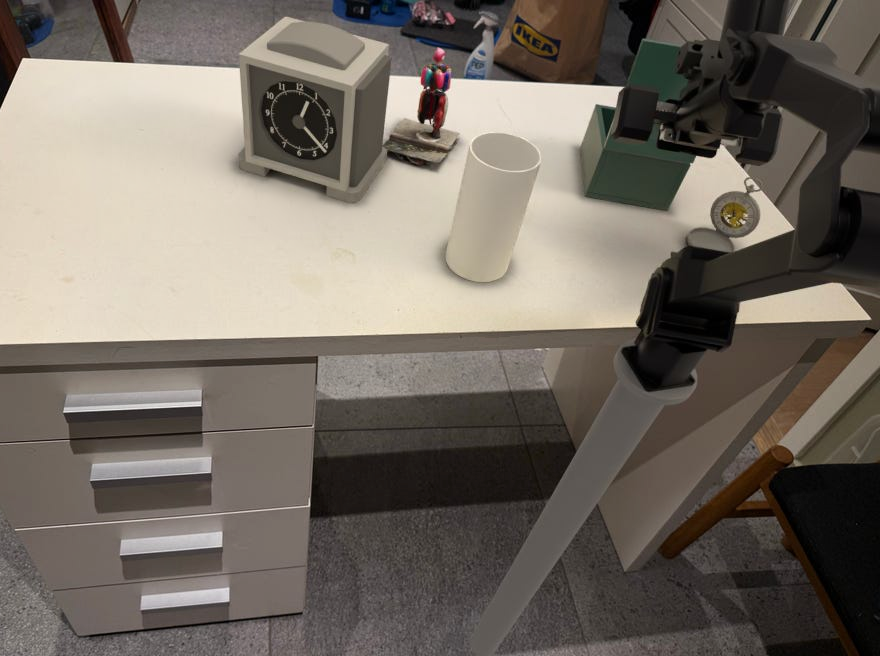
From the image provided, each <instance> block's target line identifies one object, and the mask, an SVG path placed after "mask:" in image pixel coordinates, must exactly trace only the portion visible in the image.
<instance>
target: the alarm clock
mask: <svg viewBox="0 0 880 656" xmlns="http://www.w3.org/2000/svg"><path fill="white" fill-rule="evenodd" d="M389 47H390V43H386V42H382V41H378V40H375V39H371V38H367V37H363V36H359V35H356V34H353V33H350V32H348V31H345V30H343V29H342V28H339V27H336V26H334V25H331V24H328V23H322V22H316V21H304V20H301V19H297V18H293V17H290V16H284V17H283V18H281V19H280V20H279V21H278V22H276V23H275V24H274V25H273V26H271V27H270V28H269V29H268V30H267V31H265V32H264V33H263V34H261V35H260V36H259V37H258V38H257V39H255V40H254V41H253V42H251V43H250V44H249V45H248V46H247V47H245V49H243V50H242V51H240V52H239V53H238V63H239V64H238V65H239V80H240V81H239V82H240V93H241V109H242V111H241V112H242V123H243V124H242V126H243V140H244V147H243V149H241V150H240V152H238V154H237V159H238V168H239V169H240V170H241V171H245V172H247V173H251V174H254V175H258V176H260V177H266V175H267V174H268V173H269V172H270V171H271V170H273V171H277V172H279V173H282V174H286V175H289V176H293V177H297V178H300V179H303V180H306V181H309V182H313V183H316V184H319V185H322V186H326V192H325V196H326V197H329V198H332V199H335V200H339V201H343V202H346V203H348V204H349V203H350V204H352V203H353V204H355V203H357V202H360V201H361V199H362V198H363V196H364V195H365V194H366V192H367V190H368V189H369V187H370V186H371V185H372V184H373V182H374V180H375V178H376V177H377V176H378V174H379V173H380V171H381V170H382V168H383V167H384V166H385V164H386V162H387V158H388V151H387V150H386V149H385V148H384V147H382V145H383V144H384V143H383V142H384V133H385V124H386V115H387V107H388V95H389V89H390V88H389V86H390V79H391V78H390V77H391V68H392V59H393V56H390V55H389Z"/></svg>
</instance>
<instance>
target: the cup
mask: <svg viewBox="0 0 880 656" xmlns="http://www.w3.org/2000/svg"><path fill="white" fill-rule="evenodd" d="M541 162H542V154H541V152H540V150H539V148H538V147H537V146H536V145H535V144H533V143H532V142H531V141H529V140H528V139H526V138H525V137H521V136H520V135H517V134H513V133H508V132H501V131H488V132H483V133H480V134H478V135H476V136H474V137H473V138H472V139H471V141H470V144H469V145H468V150H467V155H466V159H465V164H464V168H463V172H462V177H461V181H460V186H459V191H458V196H457V201H456V205H455V209H454V215H453V218H452V224H451V229H450V233H449V238H448V242H447V248H446V250H445V251H446V252H445V262H446V264H447V267H449V269H450V270H451V271H452V272H453V273H455V274H456V275H457V276H459V277H461V278H463V279H465V280H468V281H471V282H476V283H490V282H495V281H498V280H499V279H501V278H502V277H504V276H505V275H506V273H507V271H508V269H509V265H510V262H511V260H512V256H513V253H514V250H515V247H516V243H517V240H518V238H519V234H520V231H521V227H522V224H523V222H524V218H525V215H526V211H527V208H528V205H529V202H530V199H531V195H532V192H533V189H534V186H535V183H536V178H537V176H538V172H539V171H540V166H541Z"/></svg>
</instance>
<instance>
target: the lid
mask: <svg viewBox="0 0 880 656" xmlns="http://www.w3.org/2000/svg"><path fill="white" fill-rule="evenodd" d="M683 45H684V44H676V43H670V42H665V41H659V40H654V39H648V38H641V42H640V44H639V47H638V50H637V53H636V56H635V58H634V60H633V63H632V66H631V69H630V72H629V75H628V76H627V77H628V78H627V80H626V83H625V86H626V85H628V84H629V83H631V84H637V85H643V86H649V87H654V88H658V91H659V97H658V102H664V103H665V101H666V100H668V99H674V100H679V98H680V92H681V90H682V89H683V88H684V87H686V86H687V83H688V79H684V76H683V75H681V74H676V73H675V62H676V56H677V53H678V51H679V50H680V48H681V47H682V46H683ZM658 110H659V109H658ZM613 120H614V119H613ZM612 126H613V122H612V124H611V127H610V130H609V133H608V136H607V138H606V141H605V144H604V148H606V149H612V150H618V151H623V152H629V153H635V154H641V155H646V156H652V157H658V158H664V159H669V160H675V161H681V162H686V163H690V164H694V162H695V160H696V158H697V156H694V155H689V154H686V153H682V152H679V153H676V152H671V151H665V150H660V149H657V148H656V146H655V143H656V138H657V133H658V128H659V124H654V123H653V128H652V132H651V135H650V137H649V139H648V141H647V142H646V143H645V144H636V145H635V144H629V143H624V142H618V141H614V140H613V138H612V137H611V131H612Z"/></svg>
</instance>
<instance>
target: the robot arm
mask: <svg viewBox="0 0 880 656" xmlns="http://www.w3.org/2000/svg"><path fill="white" fill-rule="evenodd" d="M790 5H791V0H727V3H726V10H725V13H724V19H723V23H722V28H721V34H720V39H719V40H716V39H711V38H705V39H703V40H699V39H694V40H693V41H692V40H687V41H686V42H685V43H684V44H682V45H683V46H682V47H681V48H680V50H679V51H678V53H677V56H676V62H675V73H676V74H681V75H683V76H684V79H688V83H687V86H686V87H684V88H683V89H682V90H681V92H680V98H679V100H674V99H668V100H666V101H665V103H664V102H658V97H659V91H658V88H654V87H649V86H643V85H637V84H631V83H629V84H628V85H626V84H625V86H624V87H622V89H621V90H619V92H618V95H617V99H616V105H615V107H616V110H615V115H614V120H613V126H612V131H611V137H612V138H613V140H614V141H618V142H624V143H629V144H635V145H636V144H645V143H646V142H647V141H648V139H649V137H650V135H651V132H652V128H653V123H654V124H659V128H658V133H657V138H656V143H655V146H656V148H657V149H660V150H665V151H671V152H676V153H679V152H682V153H686V154H689V155H694V156H696V157H699V158H705V159H713V158H715V157H716V156H717V153H718V150H719V149H721V146H727V147H733V148H739V147H740V152H739V153H737V154H736V155H735V161H736V162H737V163H739V164H744V165H750V166H756V167H762V166H763V165H765V164H768V163H769V162H770V161H772V160H773V159H774V157H775V156H776V154H777V151H778V145H779V141H780V137H781V131H782V127H783V121H784V118H783V115H782V113H781V111H780V109H778V108H775V107H780V108H782V109H783V110H785V111H787V112H788V113H790V114H792V115H793V116H794V117H796V118H798V119H800V120H801V121H803V122H804V123H806V124H808V125H810V126H811V127H812V128H814V129H816V130H817V131H819V132H820V133H822V134H824V135H825V136H826V140H825V141H826V142H825V144H826V145H825V152H824V154H823V155H822V157H821V158H820V159H819V161H818V162H817V163H816V164H815V166H814V167H813V169H812V170H811V171H810V172H809V173H808V175H807V176H806V178H805V179H804V180H803V182H802V183H801V185H800V187H799V193H798V194H799V197H798V210H797V217H796V223H795V228H794V229H792V230H789V231H786V232H784V233H781V234H778V235H776V236H773V237H770V238H767V239H765V240H762V241H759V242H757V243H753V244H750V245H748V246H745V247H742V248H739V249H737V250H735V251H734V252H725V251H719V250H714V249H708V248H702V247H697V246H690V245H687V246H683V247H682V248H681V249H680V250H679V251H673V250H672V251H670V257H669V258H667V259H665V260H664V261H663V262H662V263H661V264H660V266H657V268H655V270H654V271H653V272H652V273H651V276H650V278H649V279H648V282H647V286H646V289H645V293H644V295H643V297H642V300H641V303H640V308H639V315H638V316H637V318H636V320H635V326H636V327H637V328H638V329H639V330H640V331H639V333H638V334H637V337H635V338H636V340H635V342H634V344H635V346H627V347H623V348H622V350H621V353H622V354H623V356H624V358H625V359H626V361H627V363H628V364H629V366H630V367H631V369H632V371H633V372H634V374H635V375H636V377H637V379H638V380H639V382H640V383H641V385H642V387H643V388H644V390H645V391H647V392H653V391H660V390H667V389H673V388H680V387H686V386H692V385H694V383H695V379H694V378H693V376H692V375H691V372H692V371H693V370H694V368H695V369H696V367H697V365H698V364H699V363H700V361H701V359H702V358H703V357H704V355H705V354H706V352H707V351H708V350H710V351H715V352H716V353H723V352H724V351H726V350H728V349H729V348H730V347H731V346H732V342H733V337H734V333H735V328H736V323H737V319H738V314H739V312H740V307H741V303H743V302H747V301H752V300H756V299H757V300H758V299H761V298H767V297H770V296H771V297H772V296H776V295H781V294H785V293H789V292H795V291H799V290H804V289H808V288H814V287H818V286H823V285H827V284H828V285H829V284H840V285H841V284H842V285H851V286H861V287H869V288H879V289H880V192H878V191H871V190H866V189H861V188H856V187H855V188H854V187H850V186H843V185H842V167H843V165H844V163H845V162H846V161H847V159H848V158H849V157H850V156H851V154H852V153H853V151H856V152H860V153H861V152H862V153H867V154H871V155H872V154H873V155H878V156H880V84H879V83H877V82H874V81H872V80H869V79H867V78H864V77H862V76H860V75H857V74H855V73H853V72H850V71H848V70H845V69H842V68H840V67H838V66H837V65H836V63H837V61H838V59H839V58H838V55H837V54H836V53H835V52H834V51H833V50H832V49H831V48H830V46H828V44H826V43H824V42H821V41H817V40H816V41H815V40H810V39H805V38H800V37H799V38H798V37H794V36H788V35H784V34H785V30H786V24H787V19H788V14H789V10H790ZM773 106H775V107H773ZM658 109H659V110H658ZM626 351H627V352H626ZM648 387H649V388H648Z"/></svg>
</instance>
